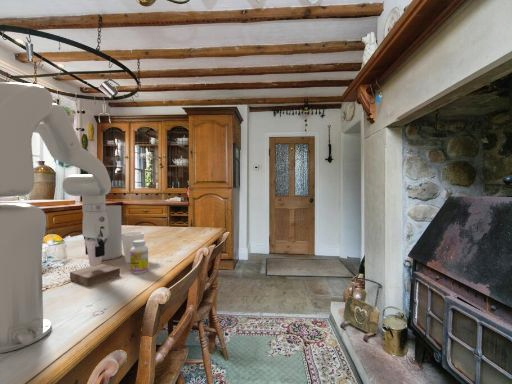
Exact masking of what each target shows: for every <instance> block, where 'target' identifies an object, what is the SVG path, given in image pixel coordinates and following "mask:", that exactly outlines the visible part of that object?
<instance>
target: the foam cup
mask: <svg viewBox="0 0 512 384" xmlns="http://www.w3.org/2000/svg"><path fill="white" fill-rule="evenodd" d="M144 238H145V232H143V231H128V232H124V233H122V235H121V239H122V249H123V255H124V259H125V264H131V258H130V250H131V248H132V247H134V245H133V241H135V240H144Z"/></svg>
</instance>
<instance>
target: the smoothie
mask: <svg viewBox="0 0 512 384" xmlns="http://www.w3.org/2000/svg"><path fill="white" fill-rule="evenodd" d="M100 240H101V239H100ZM100 240H99V241H100ZM84 244H86V246H87V252H88V255H87V257H88V263H89V264H88V265H89V267H91V266H98V265H100V264H102V261H103V260H102V256H100V257H95V247H96V242H95V239H88V240H84Z"/></svg>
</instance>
